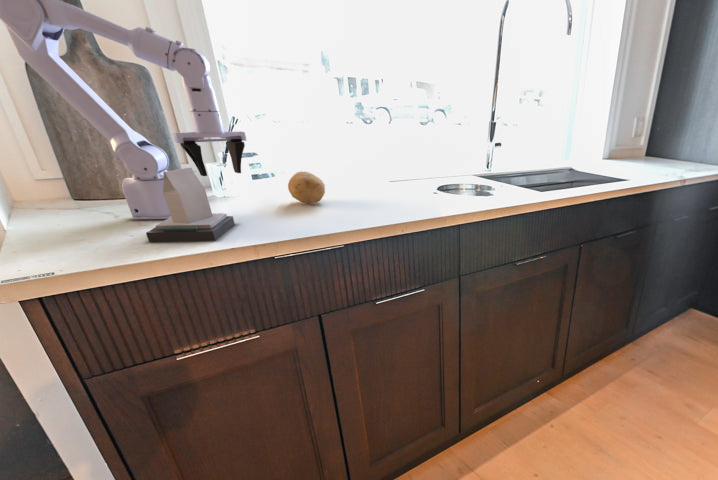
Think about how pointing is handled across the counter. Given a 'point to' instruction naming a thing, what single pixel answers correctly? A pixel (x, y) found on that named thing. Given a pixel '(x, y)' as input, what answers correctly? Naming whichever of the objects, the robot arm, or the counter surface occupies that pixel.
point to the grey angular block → (185, 196)
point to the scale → (191, 229)
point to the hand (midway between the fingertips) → (221, 174)
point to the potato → (306, 187)
